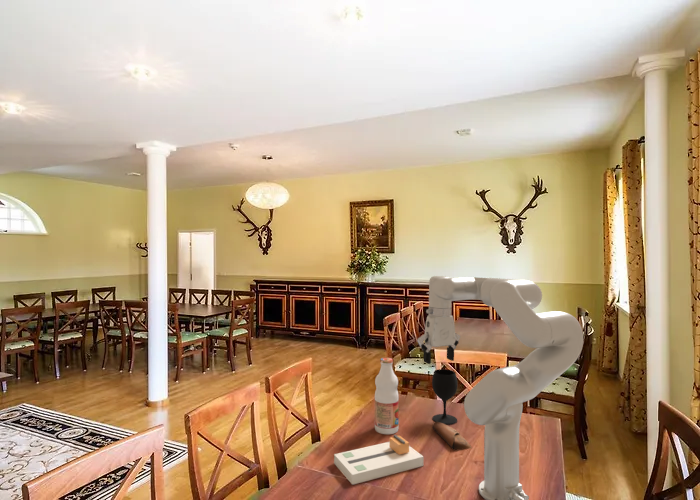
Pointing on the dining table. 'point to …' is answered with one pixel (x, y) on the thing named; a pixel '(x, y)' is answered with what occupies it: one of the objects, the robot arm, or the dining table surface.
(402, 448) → the fader knob
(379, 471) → the fader console
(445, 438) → the sunglasses case
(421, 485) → the dining table surface
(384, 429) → the fruit juice
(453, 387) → the wine glass
